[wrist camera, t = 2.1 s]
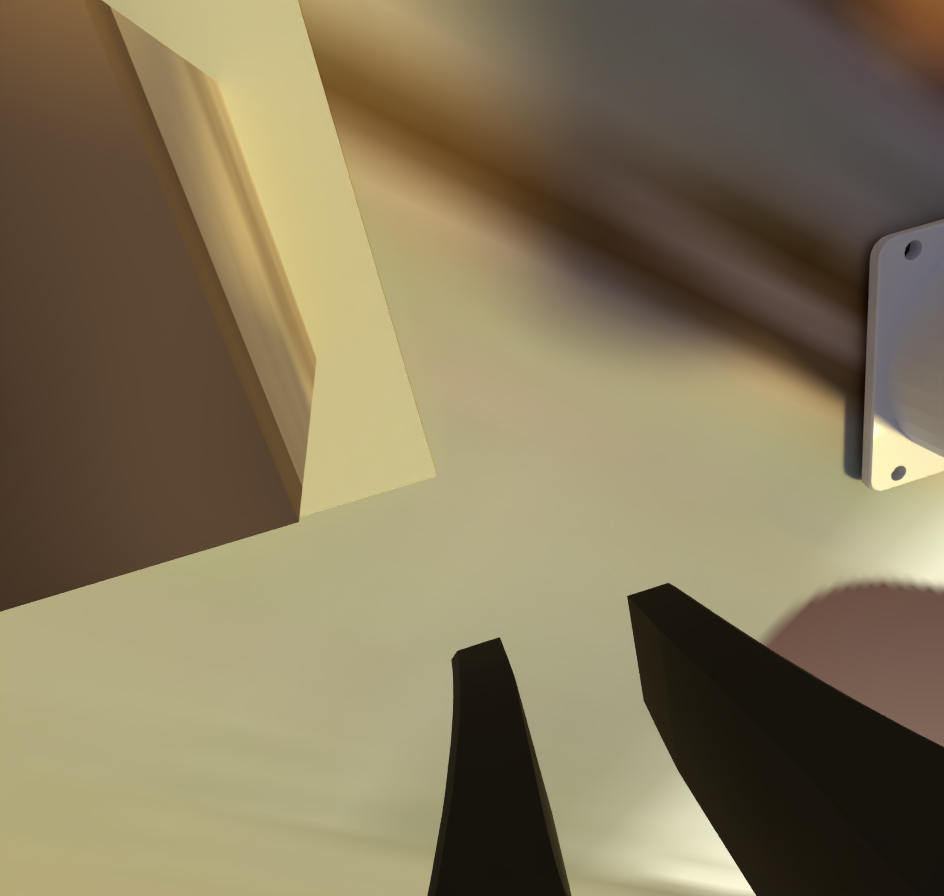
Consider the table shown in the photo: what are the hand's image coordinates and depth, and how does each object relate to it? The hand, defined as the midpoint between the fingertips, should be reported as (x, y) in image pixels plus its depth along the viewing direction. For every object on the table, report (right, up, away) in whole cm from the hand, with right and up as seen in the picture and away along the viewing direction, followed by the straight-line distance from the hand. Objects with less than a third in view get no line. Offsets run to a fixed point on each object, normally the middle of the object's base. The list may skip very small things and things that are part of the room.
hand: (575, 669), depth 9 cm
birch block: (-9, +7, +5) cm, 12 cm away
